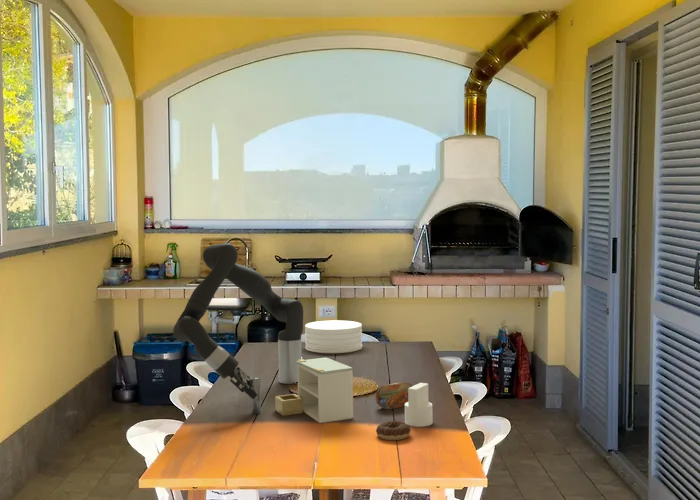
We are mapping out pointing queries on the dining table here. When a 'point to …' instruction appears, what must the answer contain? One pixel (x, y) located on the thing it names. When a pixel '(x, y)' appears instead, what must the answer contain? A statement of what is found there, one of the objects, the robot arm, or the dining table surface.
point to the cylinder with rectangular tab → (418, 406)
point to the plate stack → (333, 336)
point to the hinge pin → (257, 400)
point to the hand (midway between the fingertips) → (256, 393)
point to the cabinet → (325, 389)
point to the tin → (393, 395)
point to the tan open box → (289, 404)
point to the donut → (393, 430)
